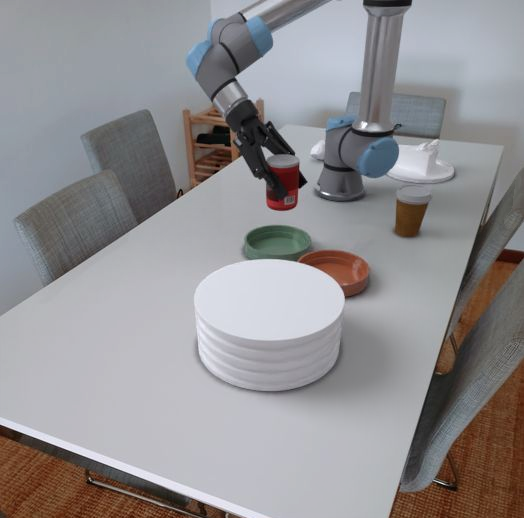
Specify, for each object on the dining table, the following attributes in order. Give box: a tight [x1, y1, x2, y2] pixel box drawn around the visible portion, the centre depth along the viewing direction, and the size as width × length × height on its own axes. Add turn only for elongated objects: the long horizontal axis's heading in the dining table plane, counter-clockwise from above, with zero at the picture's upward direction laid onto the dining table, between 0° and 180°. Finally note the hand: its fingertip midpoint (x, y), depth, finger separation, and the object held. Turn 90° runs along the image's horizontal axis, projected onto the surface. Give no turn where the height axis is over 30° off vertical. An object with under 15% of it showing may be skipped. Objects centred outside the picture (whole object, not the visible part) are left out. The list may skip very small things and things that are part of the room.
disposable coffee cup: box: [394, 183, 433, 238], centre depth 138 cm, size 10×10×12 cm
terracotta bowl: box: [297, 249, 371, 298], centre depth 121 cm, size 17×17×3 cm
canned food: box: [265, 154, 301, 212], centre depth 121 cm, size 8×8×11 cm
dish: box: [386, 138, 455, 184], centre depth 178 cm, size 25×25×11 cm
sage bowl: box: [243, 224, 312, 262], centre depth 132 cm, size 17×17×3 cm
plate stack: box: [193, 259, 346, 392], centre depth 98 cm, size 28×28×12 cm
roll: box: [309, 139, 325, 161], centre depth 188 cm, size 6×12×6 cm, turn 159°
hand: (294, 191), depth 120 cm, fingers closed on canned food, 8 cm apart
